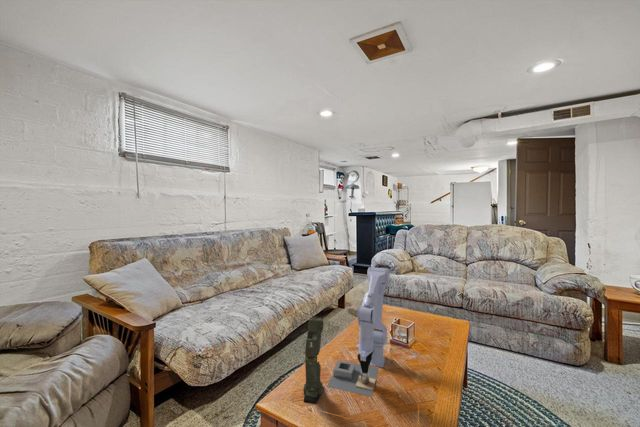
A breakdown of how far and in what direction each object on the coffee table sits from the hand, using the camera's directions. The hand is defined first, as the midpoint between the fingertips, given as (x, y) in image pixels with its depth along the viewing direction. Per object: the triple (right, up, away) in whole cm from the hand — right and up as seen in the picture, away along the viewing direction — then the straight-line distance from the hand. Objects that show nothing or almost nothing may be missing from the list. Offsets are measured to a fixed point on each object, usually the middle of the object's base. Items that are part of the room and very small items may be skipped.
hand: (365, 369), depth 112 cm
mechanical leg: (-21, -7, -5) cm, 23 cm away
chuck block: (-8, -6, +7) cm, 12 cm away
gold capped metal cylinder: (0, -5, 0) cm, 5 cm away
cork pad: (0, -6, 0) cm, 6 cm away
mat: (-4, -6, +5) cm, 9 cm away
